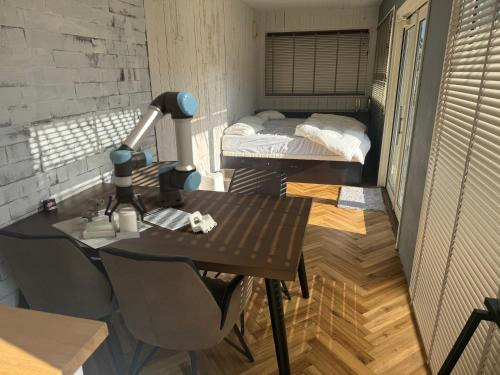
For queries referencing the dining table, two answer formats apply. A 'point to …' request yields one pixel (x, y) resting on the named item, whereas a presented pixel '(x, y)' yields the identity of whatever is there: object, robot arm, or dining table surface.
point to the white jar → (128, 219)
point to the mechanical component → (95, 203)
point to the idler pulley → (89, 214)
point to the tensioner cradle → (128, 234)
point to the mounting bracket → (204, 224)
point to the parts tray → (100, 229)
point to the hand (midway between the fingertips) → (127, 227)
